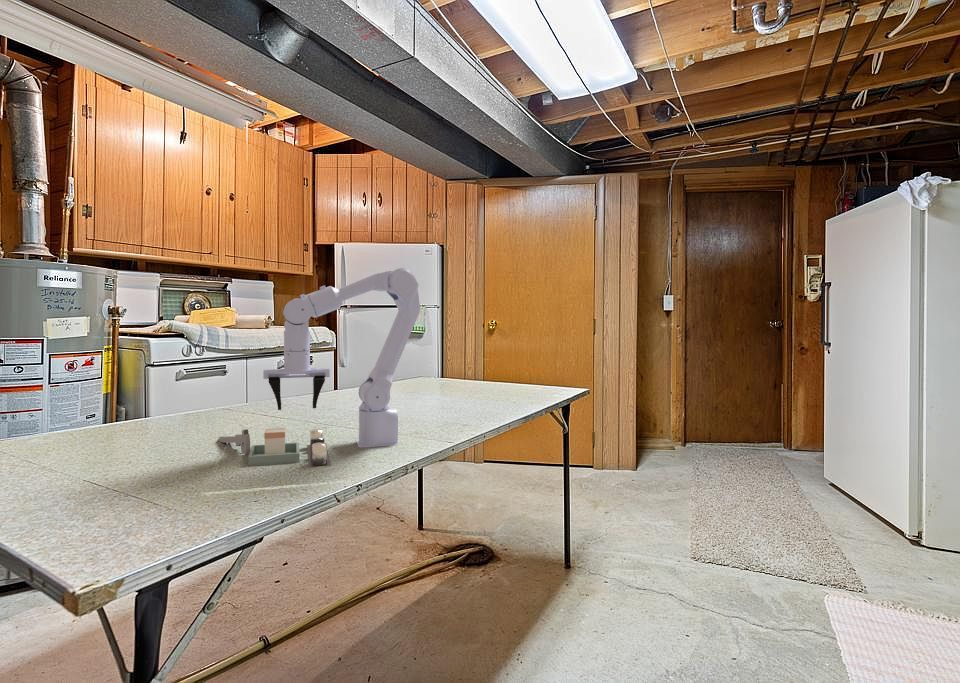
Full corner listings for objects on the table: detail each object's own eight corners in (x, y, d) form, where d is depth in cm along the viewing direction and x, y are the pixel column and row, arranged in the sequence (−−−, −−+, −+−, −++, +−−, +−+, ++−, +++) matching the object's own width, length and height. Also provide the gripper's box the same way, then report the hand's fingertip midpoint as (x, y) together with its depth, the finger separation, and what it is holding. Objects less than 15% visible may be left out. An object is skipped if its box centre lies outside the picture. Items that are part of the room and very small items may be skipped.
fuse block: (325, 445, 126) (325, 427, 126) (331, 467, 108) (331, 446, 108) (306, 447, 124) (306, 428, 124) (308, 469, 107) (309, 447, 106)
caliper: (250, 458, 115) (250, 430, 115) (245, 458, 114) (245, 430, 114) (222, 440, 130) (222, 416, 130) (217, 441, 129) (217, 416, 129)
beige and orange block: (285, 454, 116) (285, 427, 116) (284, 459, 112) (284, 431, 112) (265, 455, 114) (265, 428, 114) (264, 460, 111) (264, 432, 110)
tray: (299, 452, 120) (299, 442, 119) (299, 464, 110) (299, 453, 110) (251, 455, 116) (251, 445, 116) (248, 467, 107) (248, 456, 107)
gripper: (327, 349, 127) (327, 404, 128) (264, 349, 122) (264, 407, 123) (330, 351, 120) (330, 409, 121) (262, 352, 115) (263, 412, 116)
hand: (297, 408), depth 121 cm, fingers open, 7 cm apart
